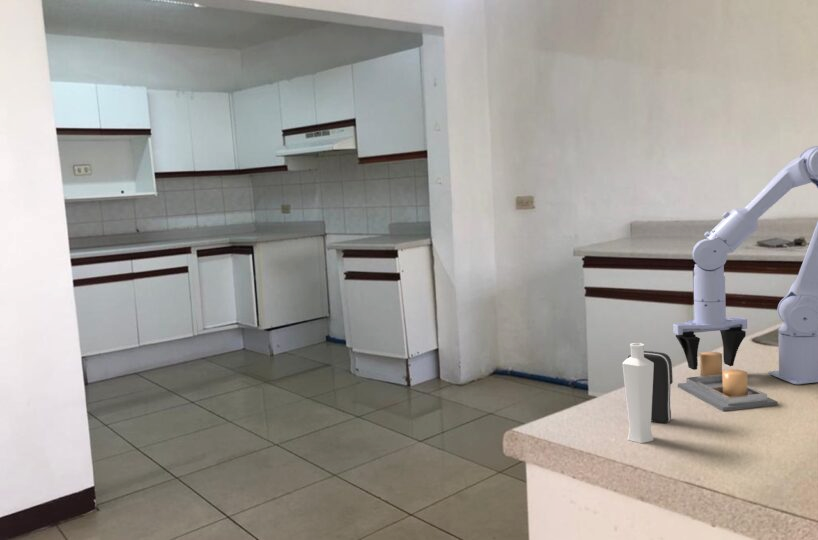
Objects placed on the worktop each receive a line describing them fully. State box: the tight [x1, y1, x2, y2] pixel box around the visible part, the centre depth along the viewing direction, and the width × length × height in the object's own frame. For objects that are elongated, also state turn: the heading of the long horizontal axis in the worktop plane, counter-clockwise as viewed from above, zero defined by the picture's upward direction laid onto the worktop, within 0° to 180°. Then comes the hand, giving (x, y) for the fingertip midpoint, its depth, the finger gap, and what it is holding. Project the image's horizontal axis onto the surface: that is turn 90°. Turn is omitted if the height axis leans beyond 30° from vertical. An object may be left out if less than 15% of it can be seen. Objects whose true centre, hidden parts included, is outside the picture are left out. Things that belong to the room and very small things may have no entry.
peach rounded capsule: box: [699, 351, 723, 376], centre depth 134 cm, size 4×4×4 cm
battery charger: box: [627, 350, 674, 424], centre depth 112 cm, size 7×4×11 cm, turn 50°
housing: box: [677, 369, 779, 412], centre depth 121 cm, size 10×15×5 cm, turn 6°
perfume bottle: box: [621, 342, 655, 444], centre depth 103 cm, size 5×4×15 cm
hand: (710, 366), depth 134 cm, fingers open, 7 cm apart
